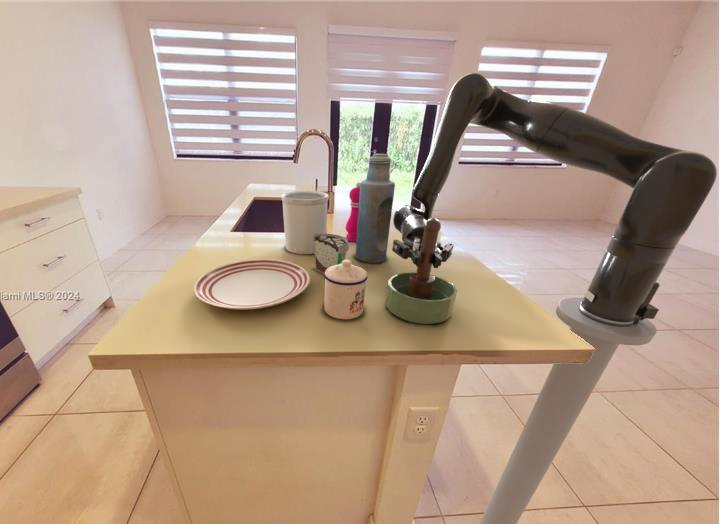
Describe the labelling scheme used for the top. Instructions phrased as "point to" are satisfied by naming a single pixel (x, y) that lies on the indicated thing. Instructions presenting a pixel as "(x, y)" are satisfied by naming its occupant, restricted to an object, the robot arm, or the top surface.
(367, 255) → the bottle
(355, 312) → the teacup with lid
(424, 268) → the wooden pestle
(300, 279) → the dinner plate
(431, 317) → the bowl
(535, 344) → the top surface
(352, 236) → the pepper mill
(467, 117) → the robot arm
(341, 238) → the slice of cake
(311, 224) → the utensil holder
